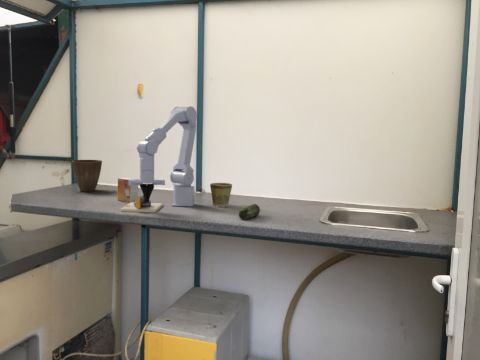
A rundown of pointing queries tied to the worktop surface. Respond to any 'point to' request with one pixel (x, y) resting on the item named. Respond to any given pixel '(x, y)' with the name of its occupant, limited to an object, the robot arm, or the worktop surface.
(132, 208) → the console plate
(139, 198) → the lever door handle
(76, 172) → the plant pot
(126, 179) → the small box
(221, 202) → the ceramic cup
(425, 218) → the worktop surface
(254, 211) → the vegetable
